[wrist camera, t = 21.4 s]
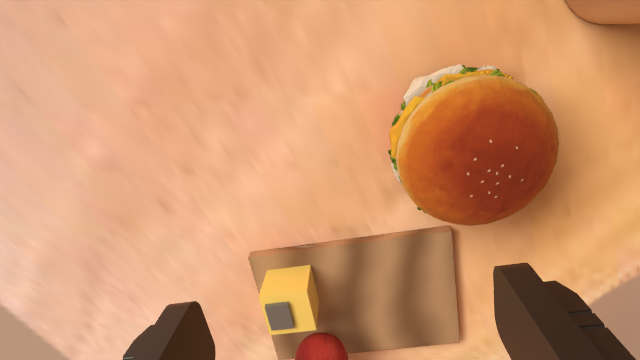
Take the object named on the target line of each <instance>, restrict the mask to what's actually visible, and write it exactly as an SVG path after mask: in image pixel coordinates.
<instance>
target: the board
mask: <svg viewBox="0 0 640 360" xmlns="http://www.w3.org/2000/svg"><path fill="white" fill-rule="evenodd" d="M248 259H249V262H250V265H251V269H252V272H253V275H254V279H255V282H256V286H257V289H258V292H259V293H260V290H261V287H262V284H263V281H264V278H265V275H266V272H267V270H275V269H282V268H290V267H298V266H306V265H311V269H312V273H313V278H314V282H315V286H316V290H317V295H318V299H319V307H318V318H317V329H316V330H314V331H304V332H295V333H285V334H276V335H271V336H272V340H273V343H274V346H275V350H276V353H277V356H278V360H284V359H294V358H295V357H296V352H297V349H298V346H299V345H300V343H301V342H302V340H303V339H305V338H306V337H307V336H309V335H311V334H312V333H319V332H322V333H329V334H331V335H333V336H336V337H337V338H338V339H339V340H340V341H341V342H342V343H343V345H344V347H345V349H346V352H347V353H356V352H367V351H377V350H387V349H398V348H408V347H419V346H429V345H439V344H450V343H460V338H459V325H458V311H457V297H456V284H455V270H454V256H453V243H452V231H451V229H450V227H449V226H442V227H434V228H427V229H419V230H412V231H405V232H397V233H390V234H382V235H375V236H367V237H360V238H352V239H345V240H337V241H330V242H322V243H315V244H307V245H300V246H293V247H285V248H278V249H270V250H263V251H255V252H251V253H250V255H249V258H248Z"/></svg>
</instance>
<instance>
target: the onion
mask: <svg viewBox="0 0 640 360" xmlns="http://www.w3.org/2000/svg"><path fill="white" fill-rule="evenodd" d="M295 360H348V356H347V352H346V349H345V347H344V345H343V343H342V342H341V341H340V340H339V339H338V338H337V337H336V336H333V335H331V334H329V333H322V332H319V333H312V334H311V335H309V336H307V337H306V338H305V339H303V340H302V342H301V343H300V345H299V346H298V349H297V352H296V357H295Z"/></svg>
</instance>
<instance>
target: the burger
mask: <svg viewBox="0 0 640 360" xmlns="http://www.w3.org/2000/svg"><path fill="white" fill-rule="evenodd" d="M403 98H404V100H405V101H404V102H403V103H402V104H401V111H400V113H399V115H397V116H396V117H395V118H394V121H393V124H392V127H391V129H390V132H389V136H390V143H391V150H389V151H388V153H389V154H390V159H391V160H392V163H391V164H390V165H391V166H392V170H393V172H394V174H395V176H396V179H397V180H398V181H399V182H400V183H402V186H403V187H404V189H405V190H406V192H407V193H408V195H409V196H410V198H411V199H412V201H413V202H414V203H415V204H416V205H417V206H418V208H417V209H418V210H423V212H424V213H428V214H429V215H431V216H433V217H435V218H437V219H439V220H442V221H445V222H450V223H454V224H461V225H479V224H488V223H491V222H494V221H497V220H500V219H503V218H506V217H508V216H510V215H512V214H513V213H515V212H517V211H519V210H520V209H522V208H524V207H525V206H526V205H527V204H528V203H529V202H530V201H531V200H532V199H533V198H534V197H535V196H536V195H537V194H538V193H539V192H540V191H541V190H542V189H543V188H544V186H545V185H546V183H547V181H548V179H549V177H550V175H551V173H552V171H553V168H554V166H555V163H556V159H557V152H558V144H559V142H558V132H557V126H556V124H555V121H554V118H553V115H552V113H551V112H550V110H549V109H548V107H547V106H546V104H545V103H544V101H543V99H542V97H541V96H540V95H539V94H538V93H537V92H535V91H534V90H532V89H530V88H528V87H527V86H525V85H524V84H522V83H519V82H517V81H514V80H513V78H512V77H511V76H509V75H506V74H504V73H502V72H500V71H499V69H497V68H496V67H495V66H482V67H481V68H474V67H469V68H465V66H464V65H461V64H458V65H454V66H450V67H448V68H444V69H441V70H439V71H437V72H435V73H432V74H430V75H426V76H422V77H417V78H415V79H414V80H413V81H412V83H411V85H410V87H409V90H408V91H407V92H406V94H405V95H404V96H403Z"/></svg>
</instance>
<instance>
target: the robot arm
mask: <svg viewBox="0 0 640 360" xmlns="http://www.w3.org/2000/svg"><path fill="white" fill-rule="evenodd" d="M566 2H567V4H568V6H569V7H570V9H571V10H572V11H573V12H574V13H575V14H576V15H577V16H579V17H581V18H582V19H584V20H586V21H588V22H592V23H596V24H632V23H635V24H639V23H640V0H566ZM493 278H494V311H495V321H496V326H497V329H498V333H499V335H500V338H501V340H502V342H503V344H504V346H505V348H506V350H507V352H508V354H509V356H510V358H511V360H636V359H635V358H634V357H633V356H632V355H631V354H630V352H629V351H628V350H627V349H626V348H625V347H624V346H623V345H622V344H621V342H620V341H619V340H618V339H617V338H616V337H615V336H614V335H613V333H612V332H611V331H610V330H609V329H608V328H605V326H604V323H603V322H602V321H601V320H600V319H599V318H598V317H597V316H596V314H594V313H592V311H591V309H590V308H589V307H588V306H587V304H586V303H585V302H584V301H583V300H582V299H581V298H580V297H579V295H578V294H577V293H575V292H573V291H572V290H570V289H568V288H567V287H565V286H563V285H562V284H560V283H558V282H557V281H547V282H543V281H542V280H541V278H540V277H539V276H538V275H537V273H536V272H535V271H534V270H533V268H532V267H531V266H530V265H529V264H528V263H519V264H511V265H502V266H495V268H494V272H493ZM123 360H215V345H214V341H213V338H212V336H211V333H210V330H209V328H208V325H207V322H206V319H205V317H204V314H203V311H202V309H201V306H200V304H199V303H198V302H196V301H194V302H185V303H177V304H170V305H168V306H167V307H166V308H165V309H164V311H163V312H162V314H161V315H160V317H159V319H158V320H157V322H156V323H155V325H151V326H149V327H148V328H147V329H146V330H145V331H144V332H143V333H142V334H141V335H139V336H138V337H137V338H136V339H135V340H134V341H133V343H132V344H131V346H130V347H129V349H128V350H127V351H126V353H125V354H124V356H123Z"/></svg>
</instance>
